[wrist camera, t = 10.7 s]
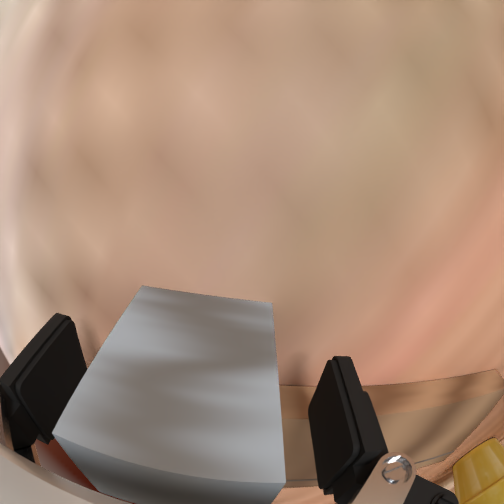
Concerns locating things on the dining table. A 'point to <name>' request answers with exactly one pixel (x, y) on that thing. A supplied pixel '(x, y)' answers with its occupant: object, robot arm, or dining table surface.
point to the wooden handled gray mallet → (181, 404)
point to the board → (397, 419)
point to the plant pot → (481, 474)
